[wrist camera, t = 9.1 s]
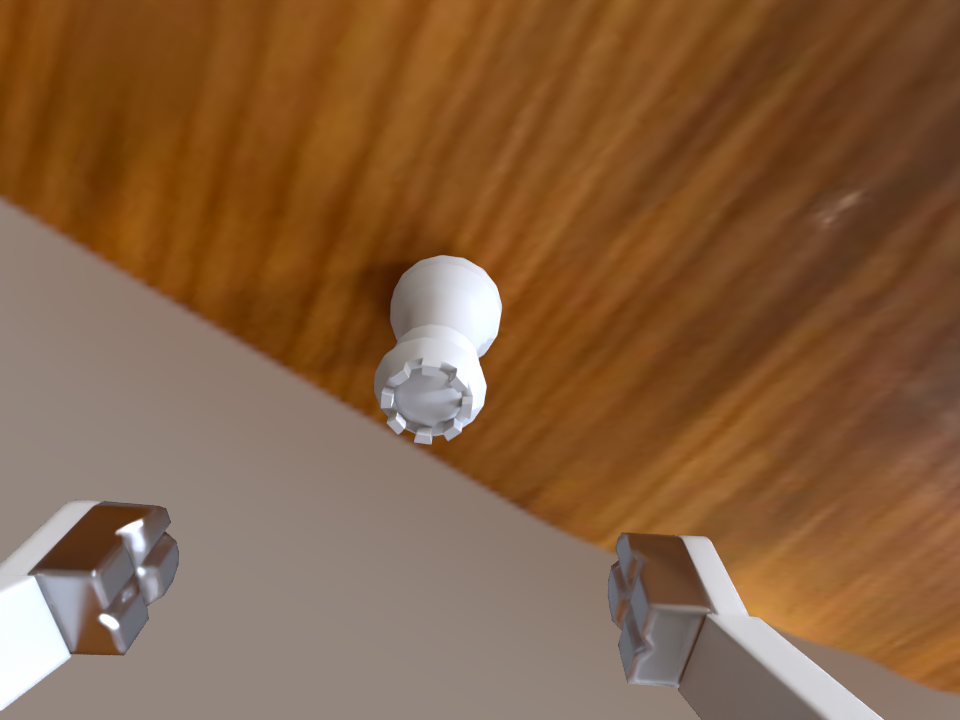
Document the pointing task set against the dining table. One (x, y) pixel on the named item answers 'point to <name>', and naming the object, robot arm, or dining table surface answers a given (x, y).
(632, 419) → the dining table surface
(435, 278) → the rook chess piece
